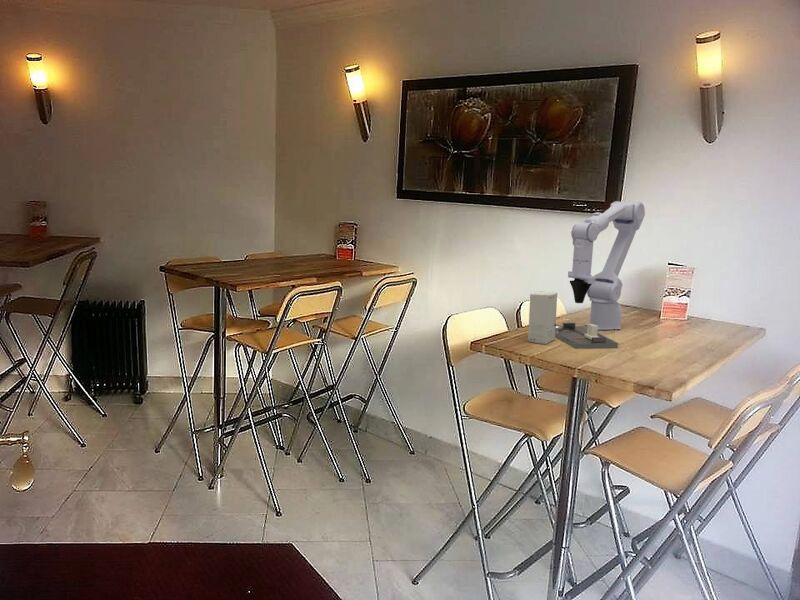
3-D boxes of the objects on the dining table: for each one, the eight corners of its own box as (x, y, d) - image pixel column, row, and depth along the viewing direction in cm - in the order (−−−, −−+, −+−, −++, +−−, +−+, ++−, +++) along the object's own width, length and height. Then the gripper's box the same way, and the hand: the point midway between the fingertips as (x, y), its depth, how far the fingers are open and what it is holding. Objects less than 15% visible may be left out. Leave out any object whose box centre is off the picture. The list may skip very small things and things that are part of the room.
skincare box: (545, 345, 176) (549, 295, 173) (526, 341, 179) (529, 293, 176) (555, 339, 183) (558, 291, 180) (536, 336, 186) (539, 289, 183)
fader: (592, 336, 181) (593, 323, 180) (599, 339, 177) (600, 326, 176) (584, 336, 180) (585, 323, 180) (591, 339, 176) (592, 326, 175)
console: (582, 330, 196) (583, 322, 195) (617, 347, 174) (618, 338, 174) (545, 331, 193) (545, 322, 193) (576, 348, 172) (576, 338, 172)
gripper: (560, 258, 194) (557, 298, 197) (581, 263, 180) (577, 307, 183) (580, 258, 196) (577, 298, 198) (602, 263, 182) (599, 307, 184)
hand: (578, 302), depth 190 cm, fingers closed
